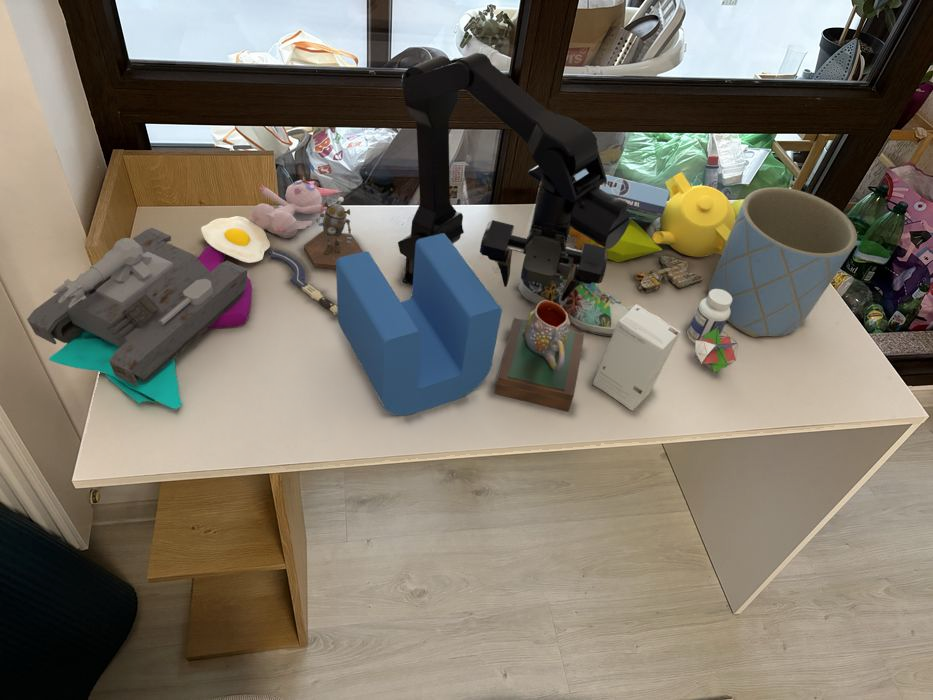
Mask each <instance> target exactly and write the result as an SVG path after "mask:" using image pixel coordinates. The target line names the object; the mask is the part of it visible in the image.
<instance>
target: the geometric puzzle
mask: <svg viewBox="0 0 933 700" xmlns="http://www.w3.org/2000/svg"><path fill="white" fill-rule="evenodd" d="M721 331H722V332H723V333H724V335H726V336H724V335H723V336H722V335H721V334H720V335H719V331H718V327H717V328H715V329H714V330H712V331H710V332H709V333H707V334H705V335H703V337H705V339H703V338H702V340H697V339H696V340H695V343H694V356H693V358H695V359H696V360H697V361H699V363H700V364H701V365H704V364H710V365H711V368H712V370H711V369H710V368H708V367H707V366H706V365H704V366H705V368H706V369H708V370H709V371H711V372H713V374H715V373H716V372H719V371H720V370H723V369H725V368H726V367H729V366H730V365H731V364H732V363H735V362H736V361H737V357H736V356H737V355H738V354H737V353H736V355H735V350H737V347H739V342H738V341H736V340H735V339H733V337H731V336H729V334H727V333H726V332H724V331H723V330H721ZM722 332H721V333H722ZM700 338H701V337H700ZM698 339H699V338H698ZM731 340H733V341H734V342H732V341H731ZM735 345H736V347H735V348H734V347H733V346H735ZM728 362H730V363H728Z"/></svg>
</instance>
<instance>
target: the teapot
mask: <svg viewBox="0 0 933 700" xmlns="http://www.w3.org/2000/svg"><path fill="white" fill-rule="evenodd" d="M664 183H665V185H666V188H667V189H666V190H669V191H670V192H669V199H670V197H671V199H670V200H667V203H666V206H665V210H664V213H663V216H661V217H659V219H660V220H659V226H660V227H659V228H660V230H659V231H655V232H654V233H653V234H652V240H653V241H654V242H655V243H656V244H658V245H659V244H660V245H662V244H663V245H664V244H665V245H669V246H670V247H671V248H672V249H673V250H675V251H676V252H678V253H679V254H682V255H684V256H688V257H696V258H699V257H708V256H711V255H713V254H717V255H719V256H721V255H722V252H723V250H724V247H725V245H726V242H727V240H728V237H729V235H730V232H731V230H732V227H733V225H734V223H735V213H734V210H733V207H732V205H731V203H732V202H731V201H730V200H729V198H728V197H727V196H726V194H724V193H723V192H721V191H720V190H718V189H717V188H715V187H713V186H708V185H693V186H692V185H691V184H690V181H688V179H687V177H686V176H685V174H684V172H683V171H681V172H679V173H677V174H675V175H673V176H672V177H670V178H668V180H666V181H665V182H664Z"/></svg>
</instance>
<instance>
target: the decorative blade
mask: <svg viewBox="0 0 933 700" xmlns="http://www.w3.org/2000/svg"><path fill="white" fill-rule="evenodd" d="M268 249H269V248H268ZM268 251H269V255H270V259H271V260H273V259H274V260H279V261H281V262H283V263H285V264H286V265H288V266H289V267H290V269H291V270H292V272H293V275H292V277H291V278H290V281H291V282H292V283H293V284H294V285H295V286H297V288H299V289H300V290H301V291H302V292H304V293H305V294H307V295H308V296H309V297H310V298H311V299H312V300H315V301H317V302H318V303H319V304H320V305H321V306H322V307H324V308H325V309H327V310H329V311H330V312H331V313H332V314H333V316H338V309H337V305H336V304H335V303H334V302H333V301H331V300H330V299H328V298H327V297H325V296H324V295H323V294H322V291H320V290H317V289H316V288H315V287H313V286H312V285H311V284H309V283H307V282H306V281H305V280H306V272H305V268H304V267H303V265H302V264H301V262H299V260H298V259H296V258H295V257H293V256H292V255H290V254H289V253H286V252H284V251H282V250H281V251H280V250H276V249H269V250H268Z"/></svg>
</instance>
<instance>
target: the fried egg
mask: <svg viewBox="0 0 933 700" xmlns="http://www.w3.org/2000/svg"><path fill="white" fill-rule="evenodd" d="M200 231H201V235H202V234H203V236H204V238H205V239H204V240H205V242H206V243H207V244H209V245H211V246H212V247H214V248H215V249H217V250H219V251H221V252H223V253H225V255H227V256H229V257H232V258H234V259H236V260H238V261H241V262H244V263H248V264H250V263H257V262H259V261H262V260H263V259H264V256H265V255H264V254H265V252H266V251H267V250H268V249H269V248H270V247H271V245H270V243H271V242H270V241H269V239H268V237H267V234H266V233H267V232H266V231H265V230H264V229H262V228H261V227H259V226H258V225H256V223H255V222H252V221H250V220H249V218H247V217H244V216H239V215H235V216H231V217H220V218H215V219H214V220H212V221H210V222H208V223H207V224H205V225H202V226H201V227H200ZM203 236H202V237H203Z"/></svg>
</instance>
